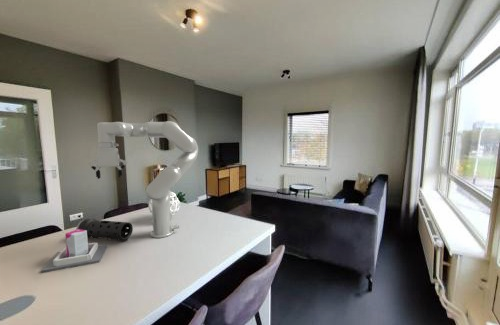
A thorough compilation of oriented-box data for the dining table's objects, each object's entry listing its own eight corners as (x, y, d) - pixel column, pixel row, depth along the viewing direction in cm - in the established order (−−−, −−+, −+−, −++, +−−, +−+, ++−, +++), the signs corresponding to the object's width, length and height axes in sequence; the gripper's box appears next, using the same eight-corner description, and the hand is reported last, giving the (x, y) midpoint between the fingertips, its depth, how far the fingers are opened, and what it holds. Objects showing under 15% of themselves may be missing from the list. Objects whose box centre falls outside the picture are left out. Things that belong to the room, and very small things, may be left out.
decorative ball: (178, 212, 163) (177, 186, 161) (182, 221, 144) (180, 192, 142) (149, 216, 154) (147, 189, 153) (148, 226, 136) (147, 196, 134)
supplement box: (89, 253, 102) (87, 230, 100) (75, 260, 96) (73, 235, 95) (80, 251, 103) (78, 228, 102) (66, 258, 98) (64, 233, 97)
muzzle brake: (120, 245, 112) (119, 225, 111) (75, 240, 118) (73, 222, 116) (133, 237, 121) (132, 219, 120) (91, 233, 127) (90, 216, 126)
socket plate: (107, 246, 111) (106, 239, 110) (99, 262, 96) (98, 254, 96) (57, 254, 103) (57, 247, 103) (40, 273, 89) (39, 265, 88)
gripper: (126, 145, 123) (128, 175, 125) (89, 146, 117) (92, 177, 119) (124, 145, 116) (126, 177, 118) (85, 146, 110) (88, 180, 112)
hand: (109, 177), depth 118 cm, fingers open, 9 cm apart
